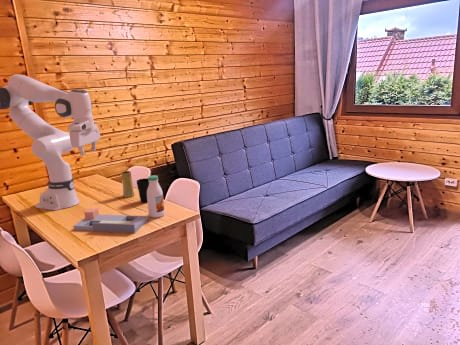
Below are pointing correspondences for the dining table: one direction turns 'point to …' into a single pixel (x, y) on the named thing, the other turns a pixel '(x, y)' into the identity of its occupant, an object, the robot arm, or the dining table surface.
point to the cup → (143, 189)
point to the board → (112, 223)
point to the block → (91, 213)
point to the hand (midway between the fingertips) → (88, 152)
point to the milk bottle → (155, 198)
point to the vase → (127, 184)
